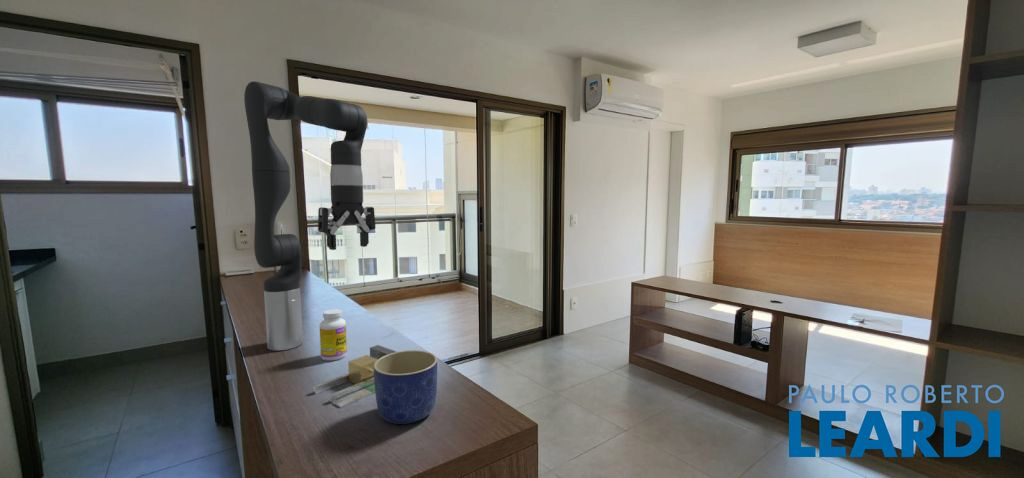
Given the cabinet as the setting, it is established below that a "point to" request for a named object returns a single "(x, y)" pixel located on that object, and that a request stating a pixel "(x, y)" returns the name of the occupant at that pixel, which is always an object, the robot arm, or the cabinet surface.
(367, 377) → the tan gold cube
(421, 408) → the planter
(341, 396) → the grey open frame tray
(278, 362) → the cabinet surface
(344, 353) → the supplement bottle
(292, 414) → the cabinet surface
